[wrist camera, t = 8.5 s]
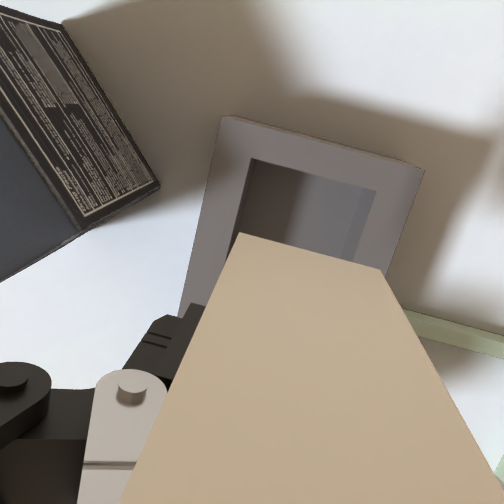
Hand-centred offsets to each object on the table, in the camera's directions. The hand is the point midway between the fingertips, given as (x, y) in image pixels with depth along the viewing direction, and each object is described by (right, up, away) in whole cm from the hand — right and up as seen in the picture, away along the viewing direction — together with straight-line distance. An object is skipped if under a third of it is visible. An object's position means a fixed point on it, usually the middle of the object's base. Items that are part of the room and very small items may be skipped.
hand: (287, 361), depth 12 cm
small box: (-12, +10, +14) cm, 21 cm away
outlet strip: (0, 0, +16) cm, 16 cm away
